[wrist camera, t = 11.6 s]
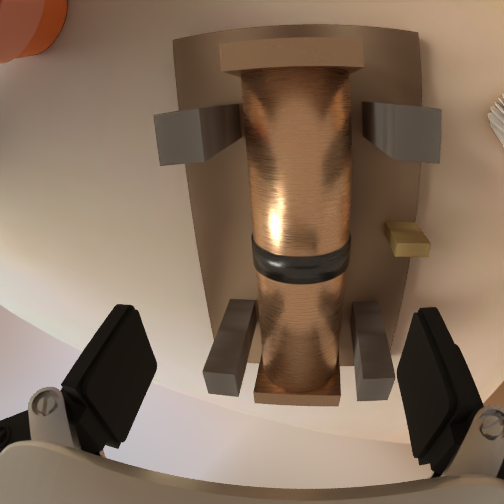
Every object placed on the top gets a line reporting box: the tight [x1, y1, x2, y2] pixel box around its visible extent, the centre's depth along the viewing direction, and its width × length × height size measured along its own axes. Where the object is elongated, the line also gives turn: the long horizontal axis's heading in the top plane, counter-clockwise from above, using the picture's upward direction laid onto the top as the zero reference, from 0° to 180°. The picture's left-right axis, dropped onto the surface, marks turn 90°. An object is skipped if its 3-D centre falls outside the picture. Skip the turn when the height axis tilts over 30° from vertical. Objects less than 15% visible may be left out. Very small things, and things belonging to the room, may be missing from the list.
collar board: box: [154, 24, 441, 401], centre depth 17 cm, size 14×24×8 cm, turn 4°
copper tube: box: [219, 37, 364, 406], centre depth 17 cm, size 20×6×6 cm, turn 4°
